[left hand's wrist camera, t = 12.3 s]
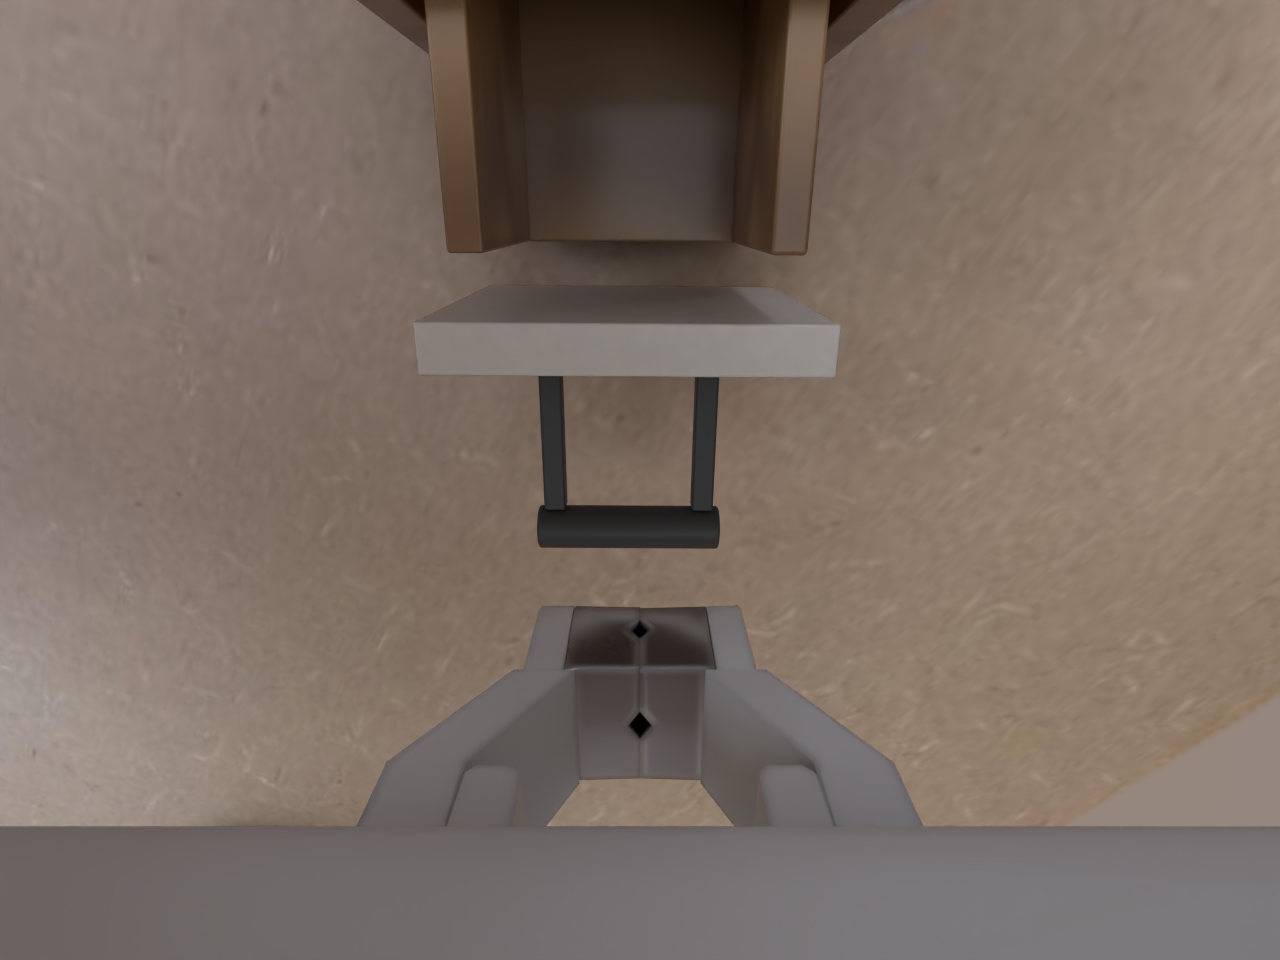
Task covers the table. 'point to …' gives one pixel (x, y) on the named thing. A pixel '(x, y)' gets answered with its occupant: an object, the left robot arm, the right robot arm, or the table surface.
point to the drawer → (627, 208)
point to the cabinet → (850, 15)
